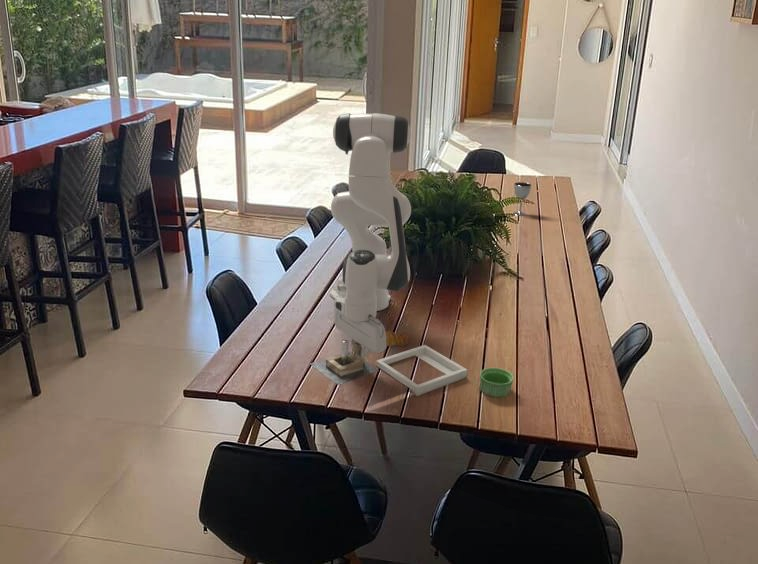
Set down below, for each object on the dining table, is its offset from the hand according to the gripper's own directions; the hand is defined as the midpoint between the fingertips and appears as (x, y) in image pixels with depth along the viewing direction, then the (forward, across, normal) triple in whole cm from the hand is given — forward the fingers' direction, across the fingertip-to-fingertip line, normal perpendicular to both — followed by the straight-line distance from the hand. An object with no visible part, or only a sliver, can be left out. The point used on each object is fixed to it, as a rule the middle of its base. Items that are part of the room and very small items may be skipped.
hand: (359, 354), depth 199 cm
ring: (+3, 0, +4) cm, 5 cm away
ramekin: (+4, -31, -23) cm, 39 cm away
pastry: (+4, +6, -16) cm, 18 cm away
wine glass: (+4, +84, -158) cm, 179 cm away
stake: (+4, 0, +5) cm, 6 cm away
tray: (+4, -13, -12) cm, 18 cm away
